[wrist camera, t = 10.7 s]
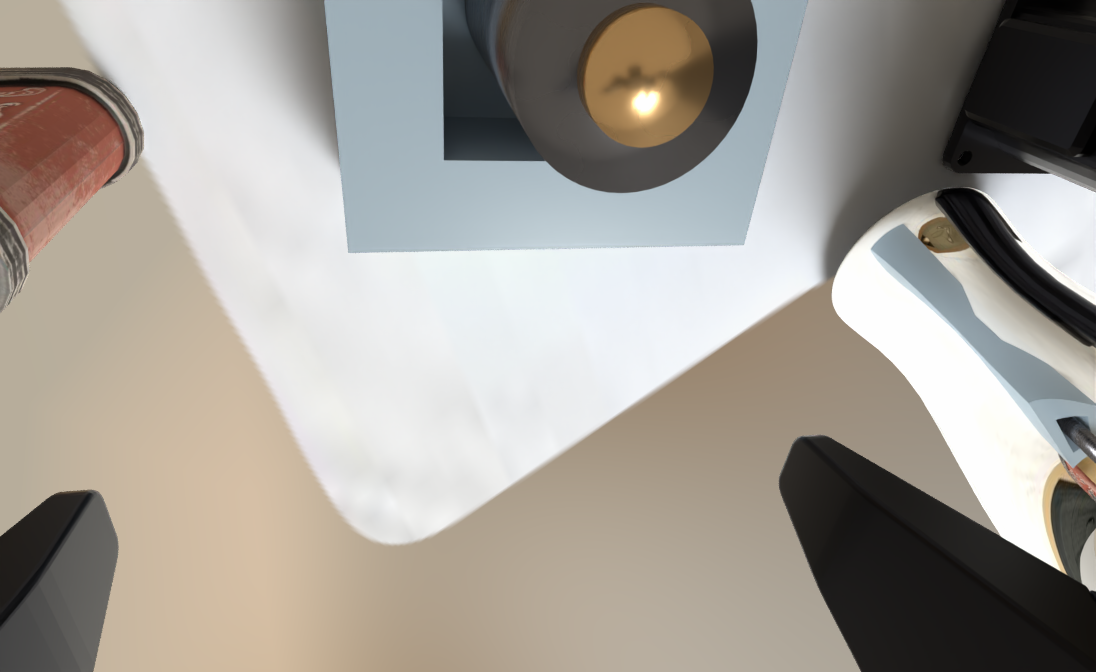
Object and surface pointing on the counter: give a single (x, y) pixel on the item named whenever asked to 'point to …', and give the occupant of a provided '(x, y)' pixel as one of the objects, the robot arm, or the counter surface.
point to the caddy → (512, 145)
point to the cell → (620, 81)
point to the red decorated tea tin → (55, 157)
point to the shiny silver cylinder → (989, 361)
